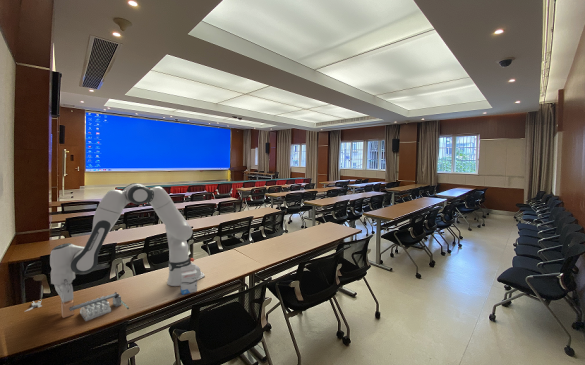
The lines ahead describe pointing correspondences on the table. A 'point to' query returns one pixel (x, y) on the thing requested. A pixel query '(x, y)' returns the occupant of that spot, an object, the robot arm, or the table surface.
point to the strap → (93, 301)
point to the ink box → (188, 279)
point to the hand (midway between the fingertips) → (64, 303)
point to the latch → (67, 308)
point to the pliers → (35, 305)
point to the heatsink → (98, 308)
